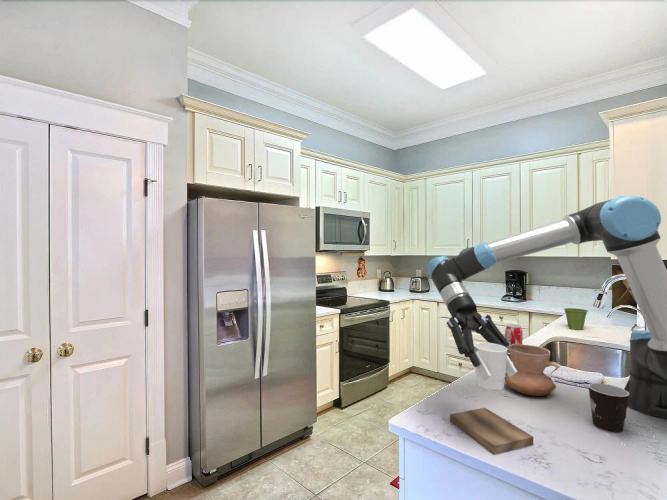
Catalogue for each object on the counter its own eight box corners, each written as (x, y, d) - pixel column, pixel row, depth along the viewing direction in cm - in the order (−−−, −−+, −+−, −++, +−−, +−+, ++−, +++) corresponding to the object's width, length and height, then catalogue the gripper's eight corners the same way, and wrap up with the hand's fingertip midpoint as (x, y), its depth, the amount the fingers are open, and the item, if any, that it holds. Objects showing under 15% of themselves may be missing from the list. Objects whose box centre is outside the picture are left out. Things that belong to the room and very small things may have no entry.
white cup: (487, 392, 86) (488, 352, 85) (466, 380, 93) (467, 343, 93) (513, 389, 88) (514, 350, 87) (491, 377, 95) (492, 341, 95)
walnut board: (484, 414, 100) (484, 407, 100) (533, 444, 85) (533, 436, 85) (449, 421, 96) (449, 414, 96) (494, 454, 81) (494, 445, 81)
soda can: (501, 350, 161) (501, 324, 161) (513, 348, 163) (513, 323, 163) (513, 354, 155) (513, 328, 154) (525, 353, 157) (526, 327, 156)
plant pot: (580, 326, 209) (580, 308, 209) (592, 331, 198) (592, 311, 198) (559, 326, 211) (559, 307, 211) (569, 330, 199) (570, 311, 199)
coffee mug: (588, 415, 100) (589, 380, 100) (628, 425, 94) (628, 388, 94) (585, 431, 91) (586, 393, 91) (629, 444, 85) (630, 403, 85)
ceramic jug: (562, 391, 116) (562, 348, 116) (553, 406, 105) (554, 359, 105) (504, 377, 128) (504, 338, 128) (491, 389, 118) (491, 347, 117)
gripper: (479, 307, 108) (522, 378, 93) (423, 310, 101) (459, 387, 86) (493, 292, 103) (540, 364, 88) (434, 295, 96) (474, 374, 81)
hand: (500, 376), depth 87 cm, fingers closed on white cup, 8 cm apart
